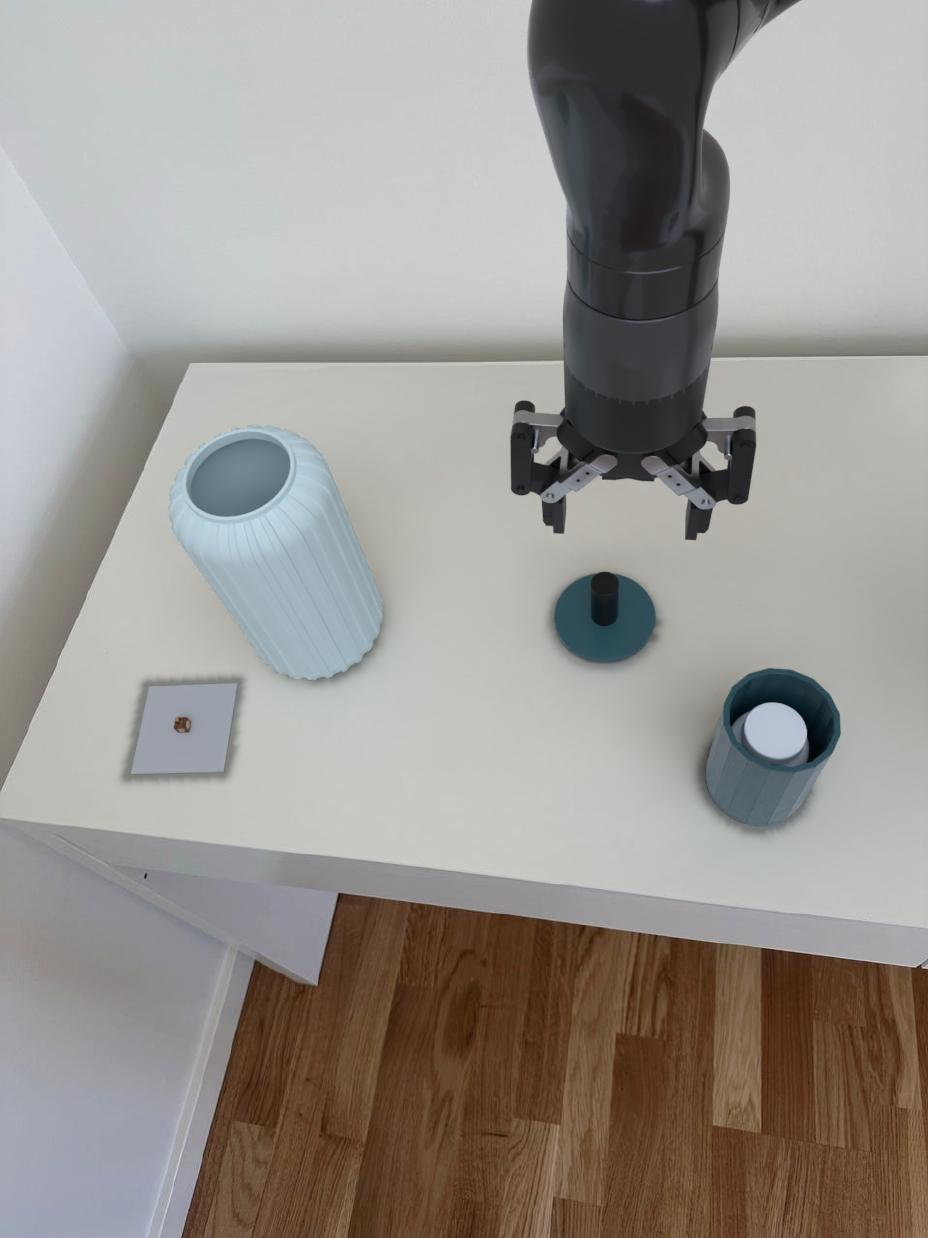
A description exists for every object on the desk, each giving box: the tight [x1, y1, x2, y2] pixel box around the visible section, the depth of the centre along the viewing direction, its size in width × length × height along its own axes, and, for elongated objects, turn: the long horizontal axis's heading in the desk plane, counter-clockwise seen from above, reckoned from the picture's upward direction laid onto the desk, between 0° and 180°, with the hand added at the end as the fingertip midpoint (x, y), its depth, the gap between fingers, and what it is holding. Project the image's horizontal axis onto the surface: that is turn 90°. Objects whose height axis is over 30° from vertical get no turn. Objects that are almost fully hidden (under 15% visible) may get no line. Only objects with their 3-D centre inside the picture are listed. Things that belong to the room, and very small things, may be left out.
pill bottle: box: [731, 702, 809, 767], centre depth 64 cm, size 6×5×10 cm
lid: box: [553, 571, 656, 663], centre depth 74 cm, size 8×8×6 cm
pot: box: [705, 667, 842, 827], centre depth 64 cm, size 7×7×12 cm
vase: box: [167, 424, 384, 681], centre depth 70 cm, size 12×12×22 cm
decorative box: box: [130, 682, 238, 775], centre depth 76 cm, size 8×8×2 cm
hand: (624, 526), depth 61 cm, fingers open, 8 cm apart
